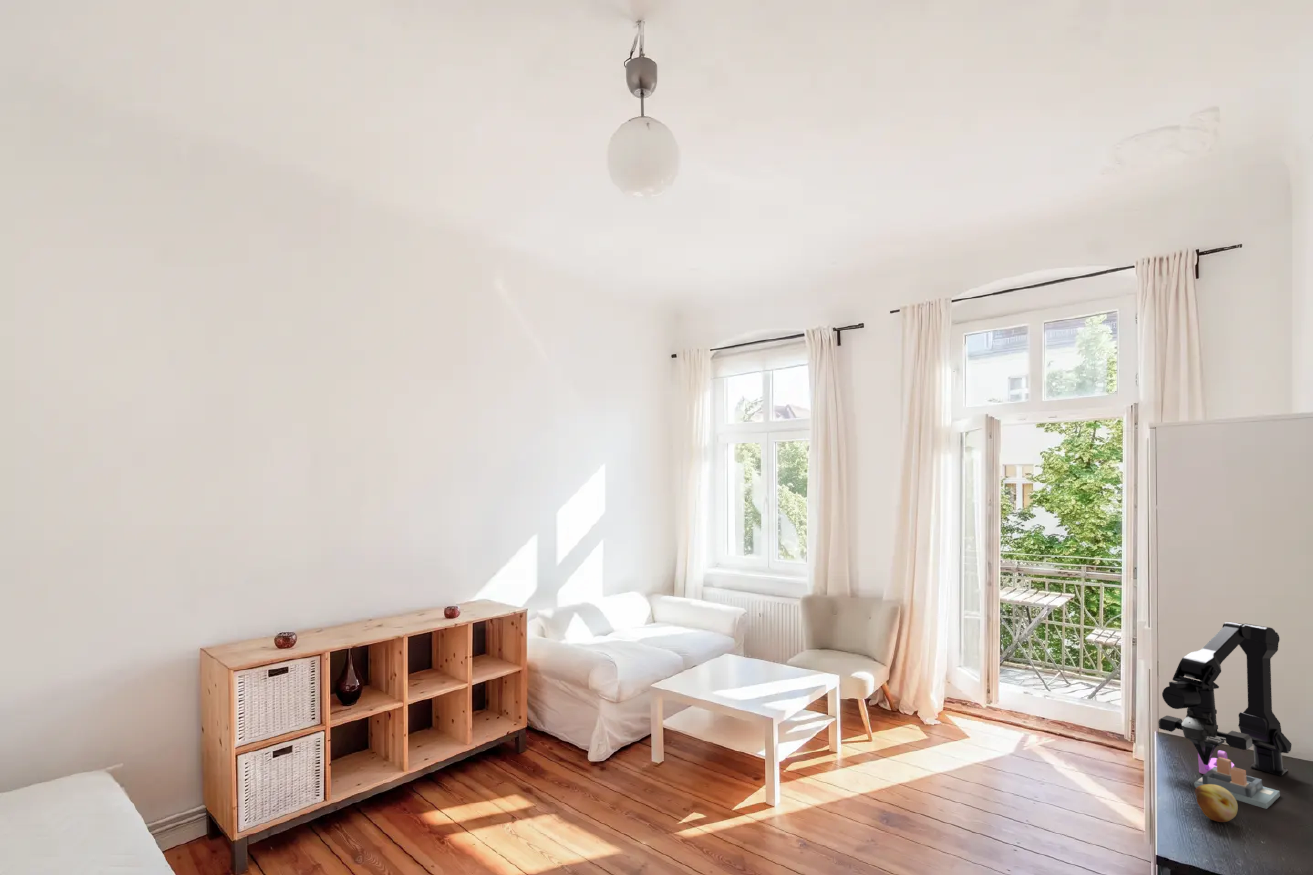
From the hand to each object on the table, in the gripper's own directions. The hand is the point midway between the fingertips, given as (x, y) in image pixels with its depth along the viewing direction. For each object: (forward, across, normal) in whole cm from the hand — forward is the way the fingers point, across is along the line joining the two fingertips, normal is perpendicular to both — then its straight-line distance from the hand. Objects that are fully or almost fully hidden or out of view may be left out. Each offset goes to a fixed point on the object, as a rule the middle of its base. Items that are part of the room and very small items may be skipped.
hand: (1206, 764), depth 171 cm
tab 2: (+2, +8, -5) cm, 10 cm away
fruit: (+4, +9, -26) cm, 27 cm away
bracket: (+4, 0, +10) cm, 11 cm away
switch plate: (+4, +7, -2) cm, 8 cm away
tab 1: (+2, +4, 0) cm, 5 cm away
